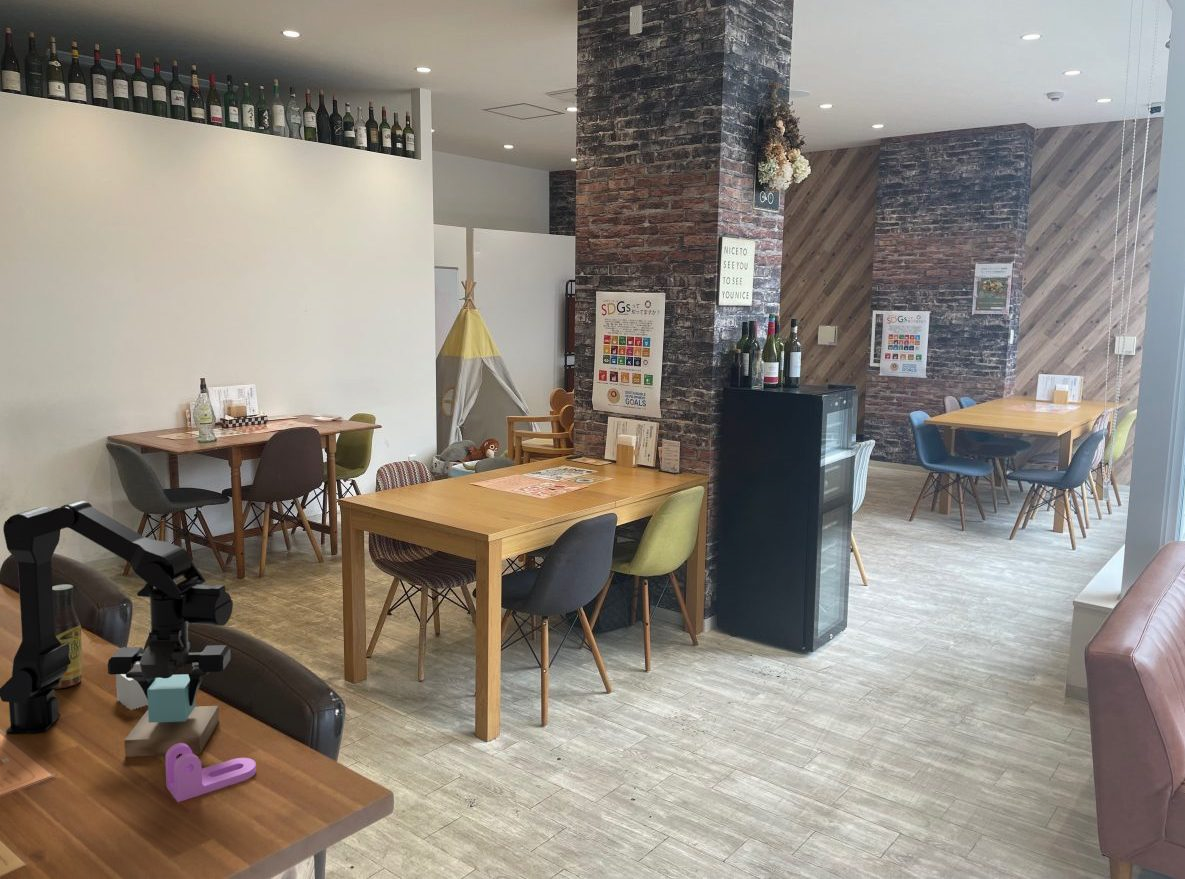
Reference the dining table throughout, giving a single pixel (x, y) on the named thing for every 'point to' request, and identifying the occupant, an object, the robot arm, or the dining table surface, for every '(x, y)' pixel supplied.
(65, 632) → the sauce bottle
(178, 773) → the bracket
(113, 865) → the dining table surface
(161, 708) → the teal cube
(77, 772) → the dining table surface
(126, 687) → the white cube
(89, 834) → the dining table surface
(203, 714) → the walnut stand
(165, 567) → the robot arm
